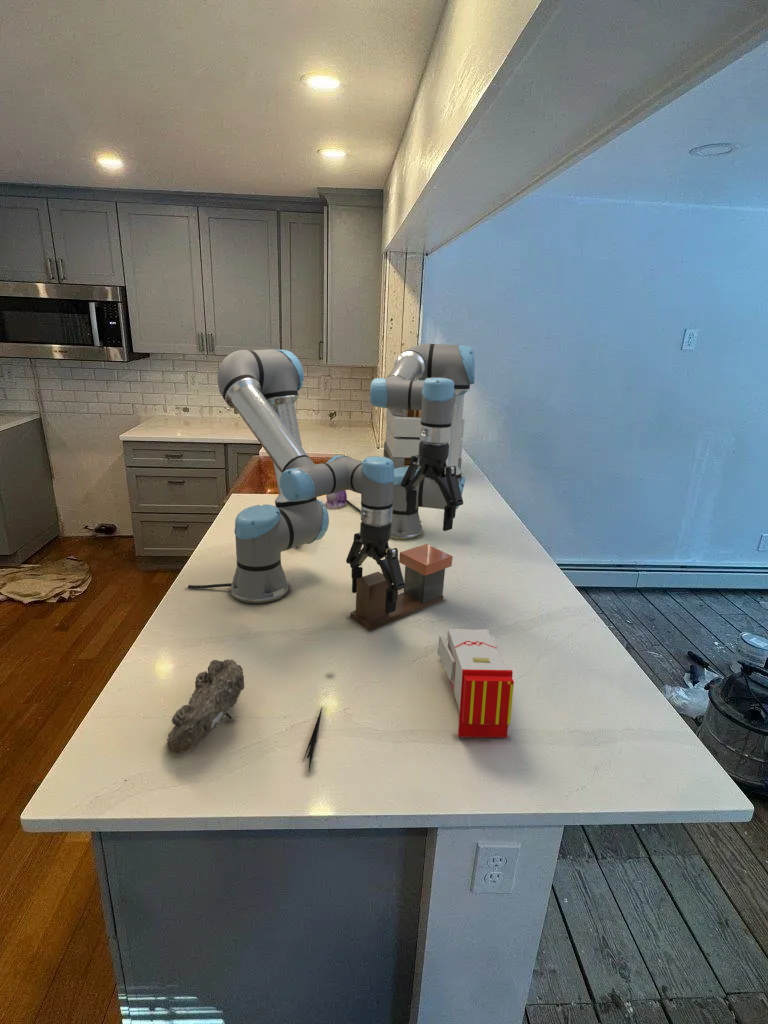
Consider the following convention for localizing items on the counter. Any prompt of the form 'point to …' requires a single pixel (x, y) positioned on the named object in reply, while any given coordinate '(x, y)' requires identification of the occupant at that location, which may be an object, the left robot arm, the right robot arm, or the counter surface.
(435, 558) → the glossy orange tile
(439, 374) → the right robot arm
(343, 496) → the figurine
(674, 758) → the counter surface
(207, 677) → the fossil
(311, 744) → the feather
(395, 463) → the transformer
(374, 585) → the brown wooden desk organizer
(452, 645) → the toy
